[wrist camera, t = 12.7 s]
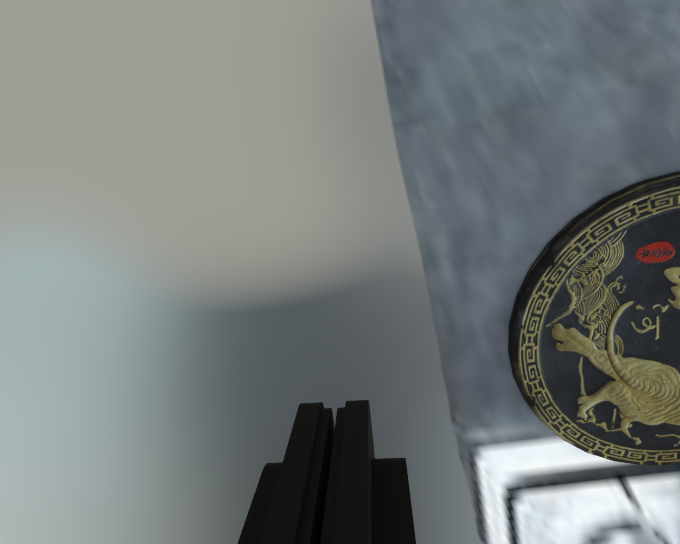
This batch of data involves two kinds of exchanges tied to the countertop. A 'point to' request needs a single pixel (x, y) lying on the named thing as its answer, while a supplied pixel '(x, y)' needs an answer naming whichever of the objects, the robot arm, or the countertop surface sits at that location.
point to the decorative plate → (607, 328)
